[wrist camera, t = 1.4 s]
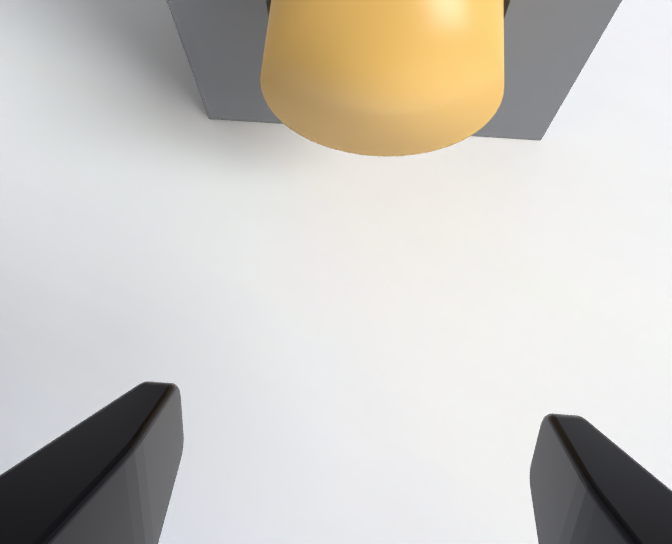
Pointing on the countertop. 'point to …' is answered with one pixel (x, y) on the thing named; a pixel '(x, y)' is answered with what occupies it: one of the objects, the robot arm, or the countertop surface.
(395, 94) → the button
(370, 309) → the countertop surface
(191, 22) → the block
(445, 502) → the countertop surface
